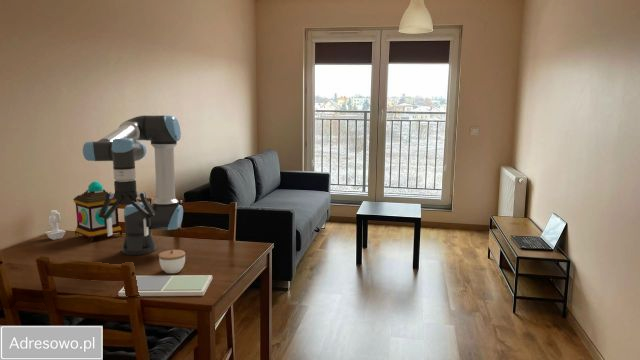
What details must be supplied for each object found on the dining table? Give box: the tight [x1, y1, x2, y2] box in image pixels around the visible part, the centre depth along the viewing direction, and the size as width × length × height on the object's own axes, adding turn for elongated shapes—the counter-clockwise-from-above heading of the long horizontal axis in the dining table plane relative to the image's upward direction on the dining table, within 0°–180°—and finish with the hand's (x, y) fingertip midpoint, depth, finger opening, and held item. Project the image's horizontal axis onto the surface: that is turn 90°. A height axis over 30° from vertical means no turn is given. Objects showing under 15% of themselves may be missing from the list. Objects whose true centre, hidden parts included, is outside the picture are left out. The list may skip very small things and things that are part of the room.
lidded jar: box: [158, 249, 186, 274], centre depth 198 cm, size 11×11×9 cm
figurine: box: [44, 209, 66, 241], centre depth 246 cm, size 7×9×15 cm
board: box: [118, 274, 213, 297], centre depth 181 cm, size 31×17×2 cm, turn 92°
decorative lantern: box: [72, 180, 123, 243], centre depth 248 cm, size 20×20×30 cm
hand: (128, 235), depth 178 cm, fingers open, 13 cm apart
